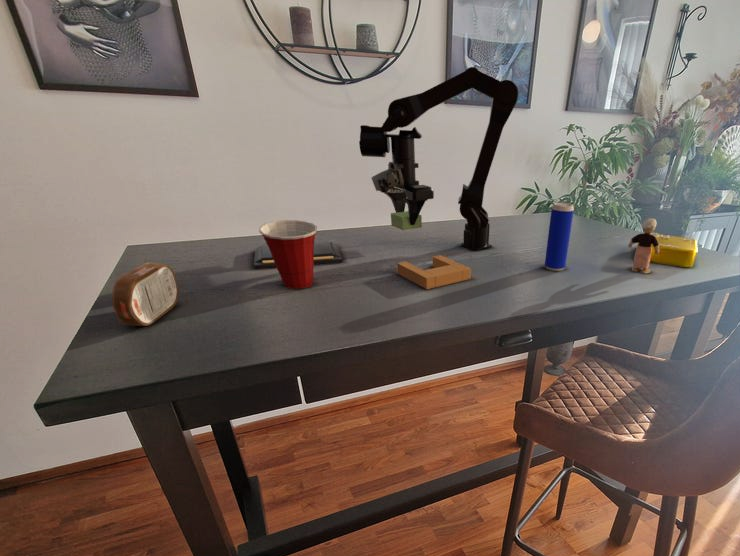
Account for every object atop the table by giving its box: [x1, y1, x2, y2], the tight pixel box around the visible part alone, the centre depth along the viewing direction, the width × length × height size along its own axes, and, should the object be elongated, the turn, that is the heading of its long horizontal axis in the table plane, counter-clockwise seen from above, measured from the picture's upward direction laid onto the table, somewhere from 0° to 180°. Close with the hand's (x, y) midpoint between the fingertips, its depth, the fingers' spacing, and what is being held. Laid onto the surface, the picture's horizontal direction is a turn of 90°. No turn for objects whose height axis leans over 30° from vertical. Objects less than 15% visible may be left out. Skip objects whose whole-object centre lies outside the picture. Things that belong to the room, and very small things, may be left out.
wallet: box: [253, 240, 343, 269], centre depth 109 cm, size 20×2×15 cm
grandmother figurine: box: [627, 217, 659, 274], centre depth 108 cm, size 8×4×13 cm, turn 65°
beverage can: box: [544, 202, 575, 272], centre depth 106 cm, size 5×5×15 cm
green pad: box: [390, 210, 423, 231], centre depth 119 cm, size 6×6×3 cm
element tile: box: [635, 232, 698, 268], centre depth 121 cm, size 15×15×5 cm
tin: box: [111, 261, 179, 327], centre depth 75 cm, size 15×3×8 cm, turn 5°
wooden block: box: [396, 254, 472, 290], centre depth 100 cm, size 12×12×2 cm
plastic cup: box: [258, 219, 318, 290], centre depth 90 cm, size 11×11×12 cm
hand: (406, 222), depth 119 cm, fingers closed on green pad, 6 cm apart
